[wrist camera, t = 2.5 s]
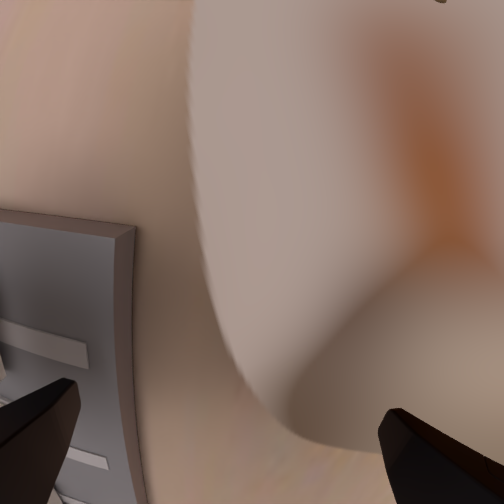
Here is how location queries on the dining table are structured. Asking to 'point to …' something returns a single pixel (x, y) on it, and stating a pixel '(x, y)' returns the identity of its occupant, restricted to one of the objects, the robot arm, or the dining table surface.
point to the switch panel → (75, 342)
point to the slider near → (2, 370)
